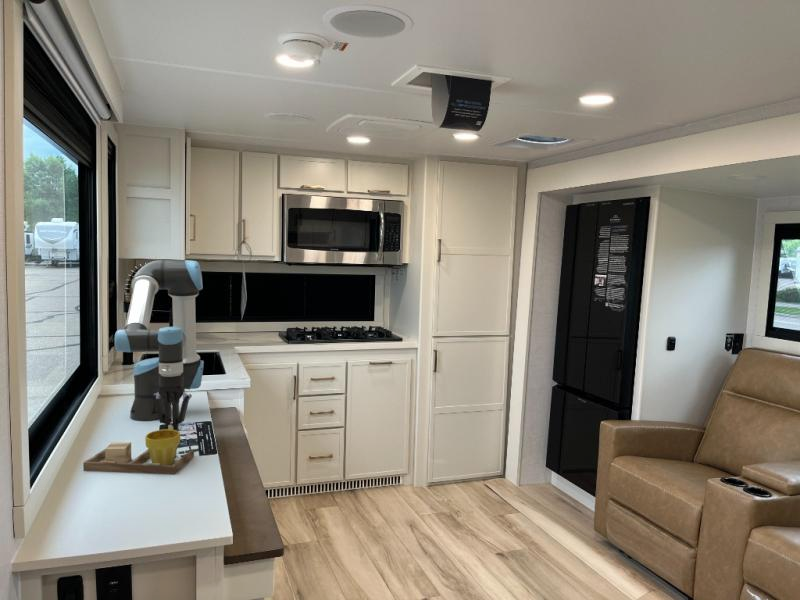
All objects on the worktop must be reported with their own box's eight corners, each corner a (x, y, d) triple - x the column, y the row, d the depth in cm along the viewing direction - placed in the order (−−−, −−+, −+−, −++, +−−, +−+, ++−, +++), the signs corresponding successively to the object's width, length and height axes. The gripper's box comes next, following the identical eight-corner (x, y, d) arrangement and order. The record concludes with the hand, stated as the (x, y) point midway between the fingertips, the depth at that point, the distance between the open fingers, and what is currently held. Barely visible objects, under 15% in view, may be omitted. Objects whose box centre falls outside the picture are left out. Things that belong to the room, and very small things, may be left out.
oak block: (112, 460, 192) (111, 442, 191) (131, 459, 192) (131, 442, 192) (105, 467, 186) (105, 448, 185) (125, 466, 186) (125, 448, 186)
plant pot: (168, 471, 184) (167, 440, 183) (139, 467, 186) (138, 437, 185) (186, 459, 194) (186, 430, 193) (159, 456, 196) (158, 427, 195)
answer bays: (109, 453, 197) (109, 444, 197) (193, 456, 196) (193, 448, 196) (83, 470, 182) (83, 461, 182) (174, 474, 181) (174, 465, 181)
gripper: (146, 376, 190) (148, 446, 192) (185, 377, 189) (187, 447, 192) (157, 370, 197) (158, 438, 200) (194, 372, 197) (195, 440, 199)
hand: (172, 443), depth 196 cm, fingers closed
